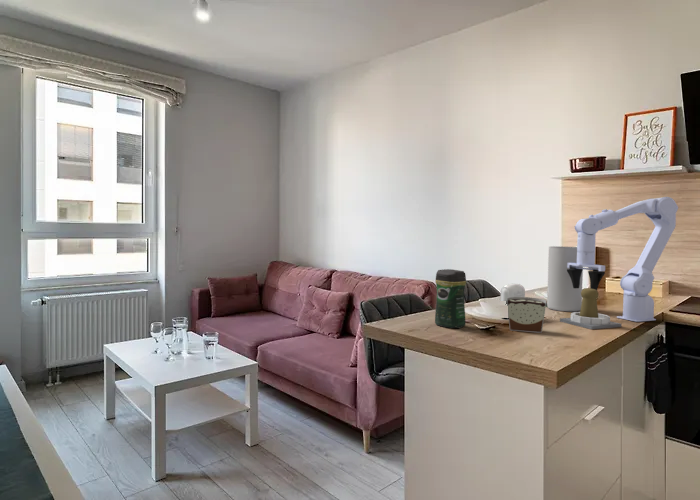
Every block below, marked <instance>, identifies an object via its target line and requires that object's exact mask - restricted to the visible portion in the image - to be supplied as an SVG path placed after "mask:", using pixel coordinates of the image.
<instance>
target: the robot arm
mask: <svg viewBox="0 0 700 500" xmlns="http://www.w3.org/2000/svg"><path fill="white" fill-rule="evenodd" d="M678 210H679V206H678V204H677V203H676V201H675V200H674V199H673V198H672V197H670V196H663V197H655V198H647V199H644V200H640V201H636V202H634V203H632V204H629V205H627V206H625V207H622V208H619V209H617V210H613V209H602V210H601V212H598V213H596V214H590V215H588V218H581V219H578V221H577V222H576V224H575V225H574V230H575V232H576V234H577V241H576V242H577V244H576V247H577V251H578V252H577V263H567V268H570V269H567V272H568V274H569V276H570V278H571V281H572V285H573V288H579V286H580V277H581V273H582V271H583V272H584V270H587V273H588V276H589V281H590V283H589V285H590V287H589V288H590V289H595V290H597V291H598V288H599V285H600V283H601V281H602V278H603V277H604V276H605V274H606V265H602V264H596V262H595V261H596V240H597V239H596V236H597V233H598V232H599V231H601V230H604V229H607V228H609V227H613V226H615V225H617V224H618V222H619V220H621V219H624V218H628V217H631V216H633V215H636V214H644V215H645V216H646V217H647V218H649V220H650V221H651V222H652V223H653V225H654V228H653V230H652V233H651V234H650V236H649V238H648V240H647V242H646V244H645V246H644V248H643V250H642V252H641V254H640V256H639V257H638V260H637V261H636V264H635V265H634V266H633V267H632V268H630V269H629V270H628V271H627V273H626V274H625V275H623V276H622V278H621V279H620V281H619V284H620V285H619V286H620V287H621V290H623V299H622V303H623V304H622V315H618V316H616V318H617V319H621V320H627V321H631V322H636V323H640V322H650V321H656V320H657V319H656V318H654V316H655V315H654V311H655V300H654V299H653V297H652V296H650V295H649V294H650V293H651V291H652V289H653V282H654V279H655V276H654V274H653V271H654V269H655V266H657V263H658V262H659V259H660V258H661V255H662V254H663V252H664V250H665V248H666V246H667V244H668V242H669V241H670V238H671V237H672V235H673V233H674V231H675V229H676V226H677V225H676V222H677V219H676V218H677V212H678ZM581 267H583V268H581Z"/></svg>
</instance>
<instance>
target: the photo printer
mask: <svg viewBox="0 0 700 500" xmlns="http://www.w3.org/2000/svg"><path fill="white" fill-rule="evenodd" d="M510 297H526V290H525V287H524V286H523V285H521V284H520V283H508V284H506V285H504V286H502V287H501V289H500V299H499V300H500V301H506V300H507V298H510ZM500 301H499V302H500Z"/></svg>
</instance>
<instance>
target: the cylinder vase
mask: <svg viewBox="0 0 700 500" xmlns="http://www.w3.org/2000/svg"><path fill="white" fill-rule="evenodd" d="M577 252H578V251H577V246H548V259H547V260H548V261H547V294H546V296H547V297H546V303H547V306H548V308H547V309H548V310H549V309H550V310H552V311H558V312H567V313H569V312H571V313H573V312H580V310H581V305H582V299H583V298H582V296H581V291H582V290H583V280H584V279H583V276H584V274H583V273H584V270H583V271H582V273H581V277H580V286H579V288H573V285H572V281H571V278H570V276H569V274H568V272H567V269H570V268H567V263H577ZM581 268H584V267H581Z"/></svg>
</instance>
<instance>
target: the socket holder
mask: <svg viewBox="0 0 700 500" xmlns="http://www.w3.org/2000/svg"><path fill="white" fill-rule="evenodd" d="M598 317H599V318H590V317H582V316H580V311H575V312H571V313H570V317H563V318H559V322H561V323H564V324H569V325H573V326H576V327H581V328H584V329H589V330H601V329H612V328H622V325H623V324H622V323H619V322H616V321H612V320H611V316H610V315H608V314H603V313H599V312H598Z"/></svg>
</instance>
